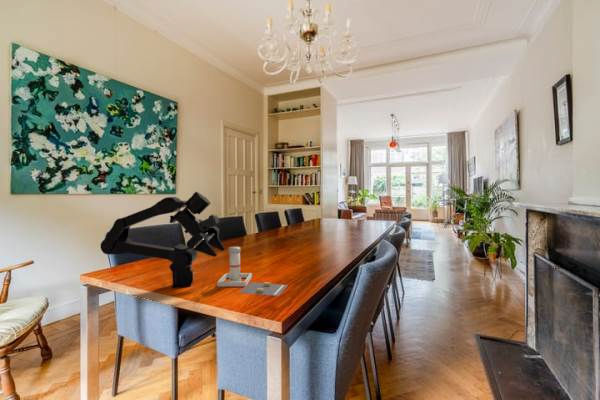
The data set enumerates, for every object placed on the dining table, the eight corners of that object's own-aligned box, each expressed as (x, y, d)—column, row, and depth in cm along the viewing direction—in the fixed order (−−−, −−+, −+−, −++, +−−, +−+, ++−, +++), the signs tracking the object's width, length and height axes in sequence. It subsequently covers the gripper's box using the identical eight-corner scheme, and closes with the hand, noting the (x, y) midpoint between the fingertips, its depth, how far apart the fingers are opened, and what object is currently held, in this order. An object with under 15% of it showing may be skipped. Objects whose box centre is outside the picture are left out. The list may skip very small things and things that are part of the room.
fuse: (231, 285, 98) (230, 249, 98) (228, 281, 102) (227, 247, 102) (242, 283, 101) (241, 248, 100) (239, 279, 104) (238, 246, 104)
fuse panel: (238, 295, 90) (238, 289, 90) (251, 285, 100) (251, 279, 100) (278, 298, 87) (278, 292, 87) (287, 288, 96) (287, 282, 96)
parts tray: (217, 289, 96) (217, 282, 96) (226, 279, 107) (225, 273, 106) (245, 288, 96) (245, 281, 96) (251, 279, 106) (251, 273, 106)
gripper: (195, 209, 91) (228, 242, 92) (214, 206, 110) (241, 233, 110) (172, 232, 92) (205, 265, 92) (195, 225, 111) (222, 252, 111)
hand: (220, 252), depth 101 cm, fingers open, 9 cm apart
